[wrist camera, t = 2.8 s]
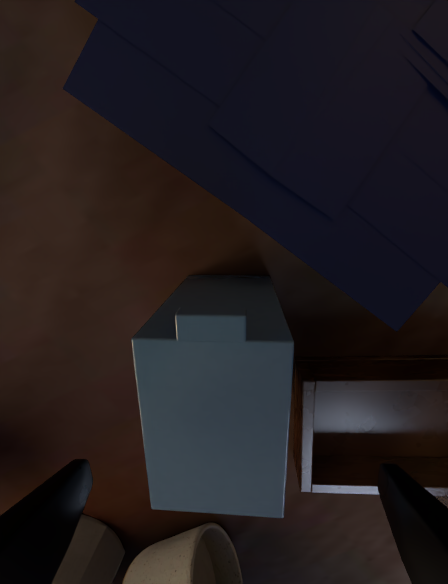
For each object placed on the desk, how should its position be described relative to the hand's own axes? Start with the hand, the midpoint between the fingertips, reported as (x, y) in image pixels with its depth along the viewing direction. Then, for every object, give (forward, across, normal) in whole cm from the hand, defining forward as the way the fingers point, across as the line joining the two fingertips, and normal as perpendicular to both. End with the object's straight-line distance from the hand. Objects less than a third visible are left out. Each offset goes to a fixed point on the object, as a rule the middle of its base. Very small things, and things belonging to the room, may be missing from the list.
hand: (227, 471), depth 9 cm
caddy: (+12, -11, +8) cm, 18 cm away
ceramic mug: (+12, +5, +23) cm, 27 cm away
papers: (+12, -10, -19) cm, 25 cm away
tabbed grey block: (+12, +1, 0) cm, 12 cm away
